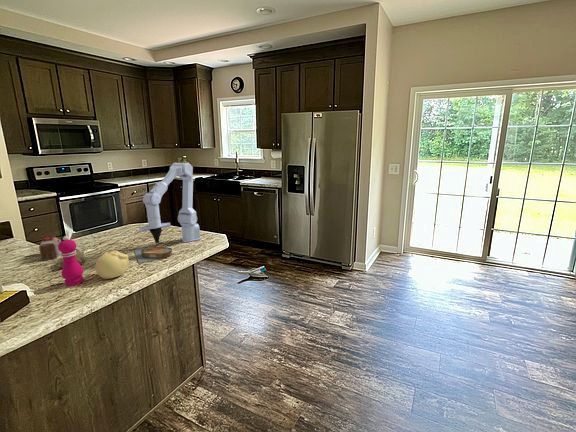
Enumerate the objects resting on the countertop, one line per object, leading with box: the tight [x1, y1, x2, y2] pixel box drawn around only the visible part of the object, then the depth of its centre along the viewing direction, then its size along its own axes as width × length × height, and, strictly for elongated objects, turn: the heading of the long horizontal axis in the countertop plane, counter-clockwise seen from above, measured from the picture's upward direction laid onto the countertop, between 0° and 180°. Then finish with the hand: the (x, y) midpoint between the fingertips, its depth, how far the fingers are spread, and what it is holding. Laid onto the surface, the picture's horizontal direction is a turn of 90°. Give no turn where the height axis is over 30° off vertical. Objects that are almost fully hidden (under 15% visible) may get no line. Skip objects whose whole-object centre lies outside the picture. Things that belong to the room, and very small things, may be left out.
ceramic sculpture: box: [57, 245, 86, 268], centre depth 143 cm, size 11×9×15 cm
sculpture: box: [94, 250, 130, 280], centre depth 129 cm, size 11×12×11 cm
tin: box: [141, 246, 173, 259], centre depth 152 cm, size 15×3×8 cm
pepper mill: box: [58, 235, 85, 287], centre depth 122 cm, size 7×7×20 cm
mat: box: [133, 246, 163, 264], centre depth 154 cm, size 10×20×1 cm, turn 32°
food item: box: [38, 235, 62, 261], centre depth 153 cm, size 14×8×10 cm, turn 32°
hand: (157, 242), depth 155 cm, fingers closed
